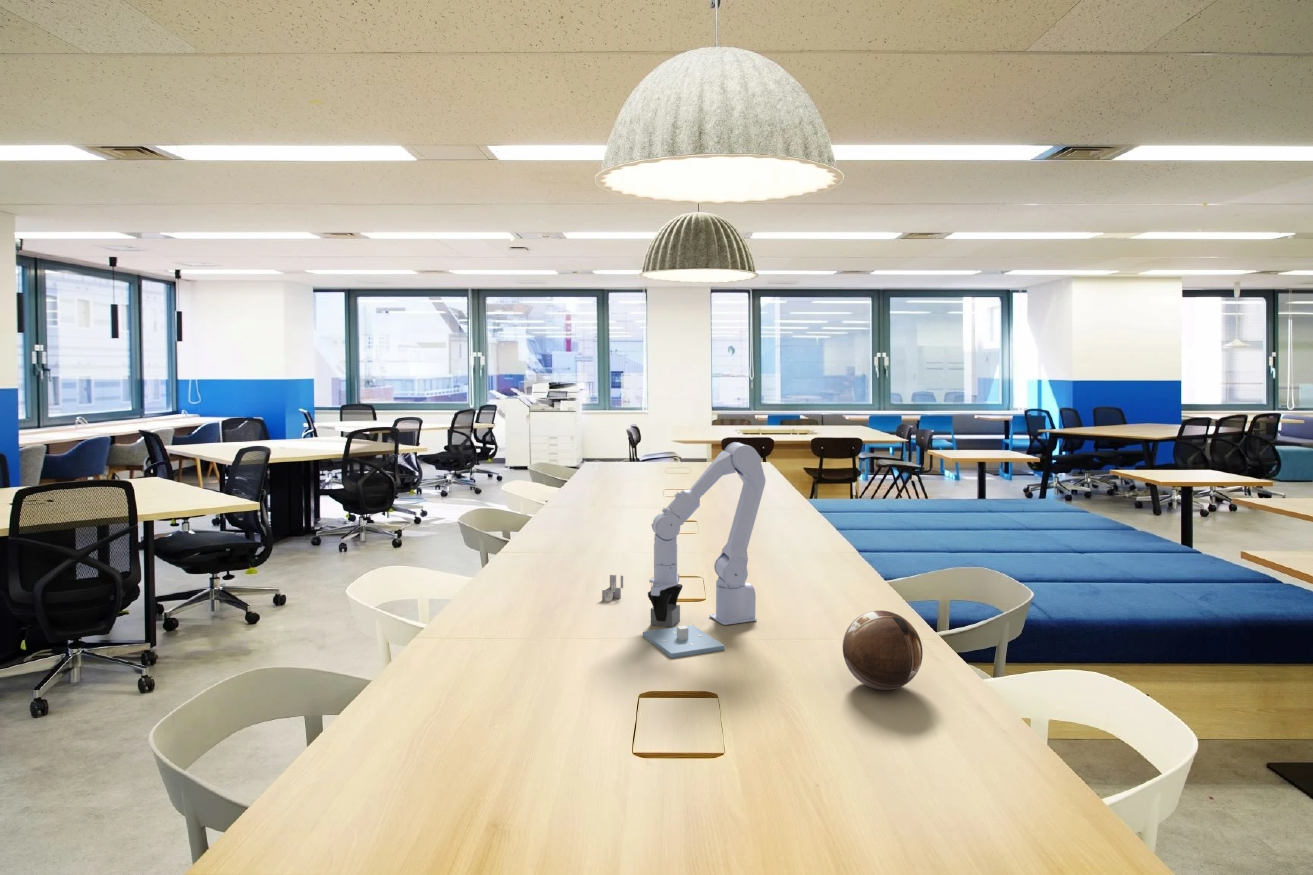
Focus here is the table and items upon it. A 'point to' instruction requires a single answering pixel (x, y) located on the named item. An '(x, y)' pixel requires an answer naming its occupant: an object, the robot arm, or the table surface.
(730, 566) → the robot arm
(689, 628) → the plate
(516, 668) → the table surface
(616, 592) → the architectural model
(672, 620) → the grey drawer cabinet
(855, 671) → the wooden sphere
